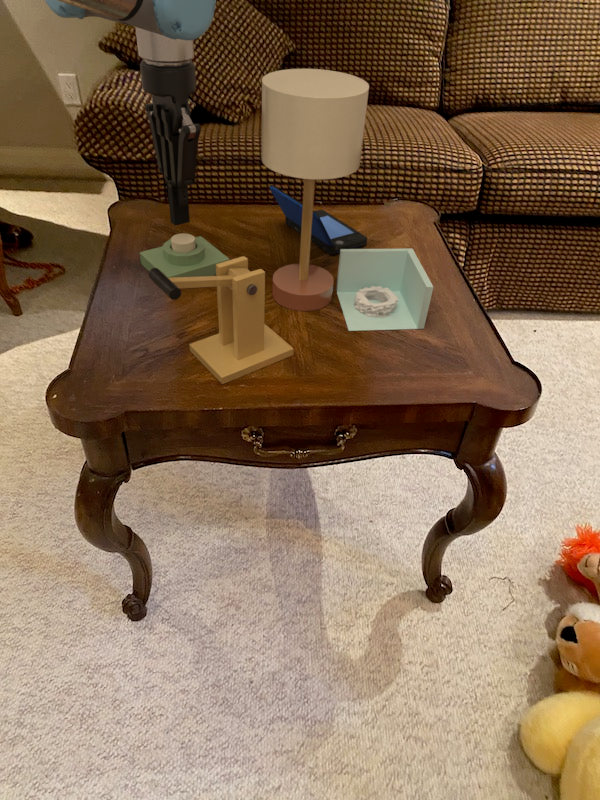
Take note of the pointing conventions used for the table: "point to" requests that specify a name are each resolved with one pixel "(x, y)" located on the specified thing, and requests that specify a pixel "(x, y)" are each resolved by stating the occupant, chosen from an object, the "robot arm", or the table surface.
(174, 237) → the button
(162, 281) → the lamp lever
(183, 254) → the switch box
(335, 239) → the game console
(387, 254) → the right angle wall
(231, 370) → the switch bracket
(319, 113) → the lamp
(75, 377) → the table surface
